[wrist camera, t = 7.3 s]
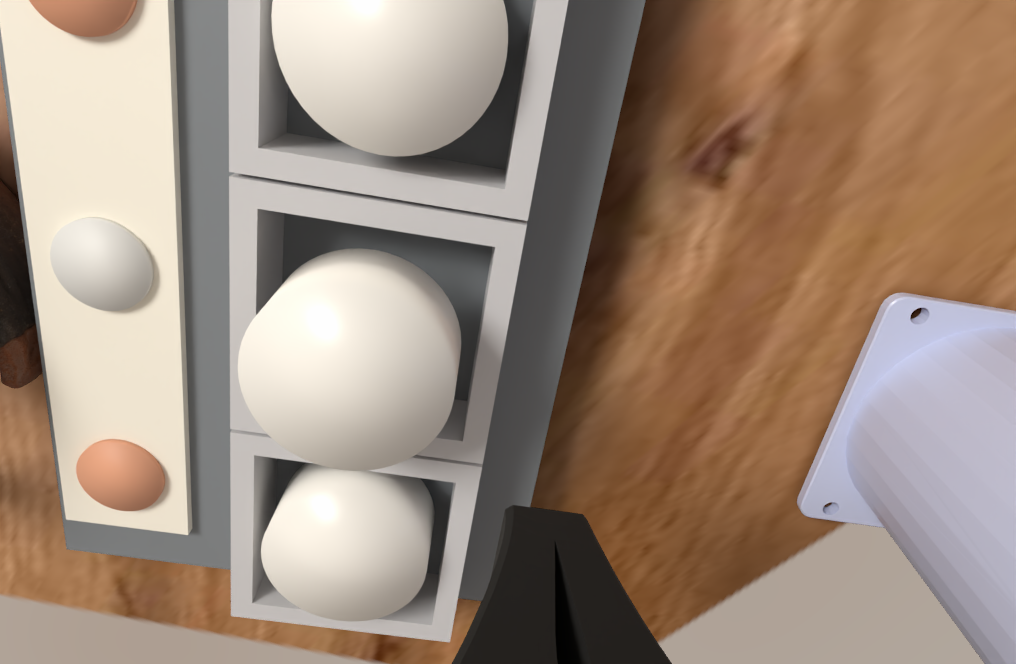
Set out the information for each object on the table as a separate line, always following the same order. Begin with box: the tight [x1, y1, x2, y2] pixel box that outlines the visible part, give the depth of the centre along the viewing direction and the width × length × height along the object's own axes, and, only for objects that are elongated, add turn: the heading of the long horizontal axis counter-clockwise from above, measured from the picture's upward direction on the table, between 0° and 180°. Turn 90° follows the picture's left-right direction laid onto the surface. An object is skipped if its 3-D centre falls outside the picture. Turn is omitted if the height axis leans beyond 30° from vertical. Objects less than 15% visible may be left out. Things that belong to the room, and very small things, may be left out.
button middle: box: [238, 248, 461, 471], centre depth 15 cm, size 4×4×2 cm
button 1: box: [271, 0, 508, 157], centre depth 14 cm, size 4×4×2 cm
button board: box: [0, 0, 646, 642], centre depth 18 cm, size 14×20×4 cm
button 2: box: [261, 463, 435, 621], centre depth 19 cm, size 4×4×2 cm
